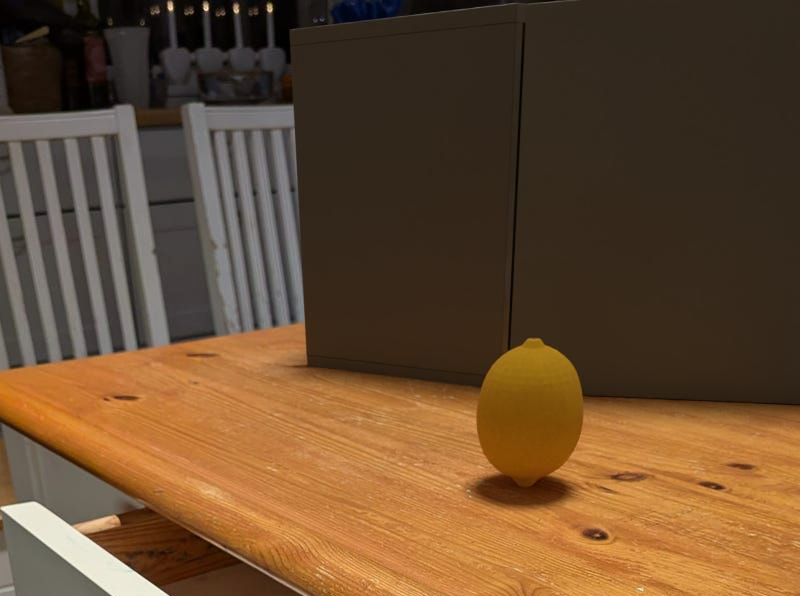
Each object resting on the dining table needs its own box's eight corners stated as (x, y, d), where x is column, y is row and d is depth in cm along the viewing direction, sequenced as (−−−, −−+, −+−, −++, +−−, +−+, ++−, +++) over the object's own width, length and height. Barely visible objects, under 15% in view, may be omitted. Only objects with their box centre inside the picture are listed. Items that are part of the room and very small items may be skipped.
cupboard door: (933, 441, 56) (1067, -58, 44) (488, 418, 64) (505, -7, 53) (911, 405, 62) (1022, -38, 51) (510, 388, 71) (528, 4, 59)
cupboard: (631, 326, 88) (664, 18, 77) (499, 391, 71) (516, 2, 59) (460, 313, 98) (467, 38, 87) (306, 367, 80) (289, 29, 69)
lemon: (466, 501, 51) (471, 348, 47) (482, 468, 56) (487, 326, 52) (573, 508, 50) (586, 351, 46) (580, 473, 54) (593, 327, 50)
